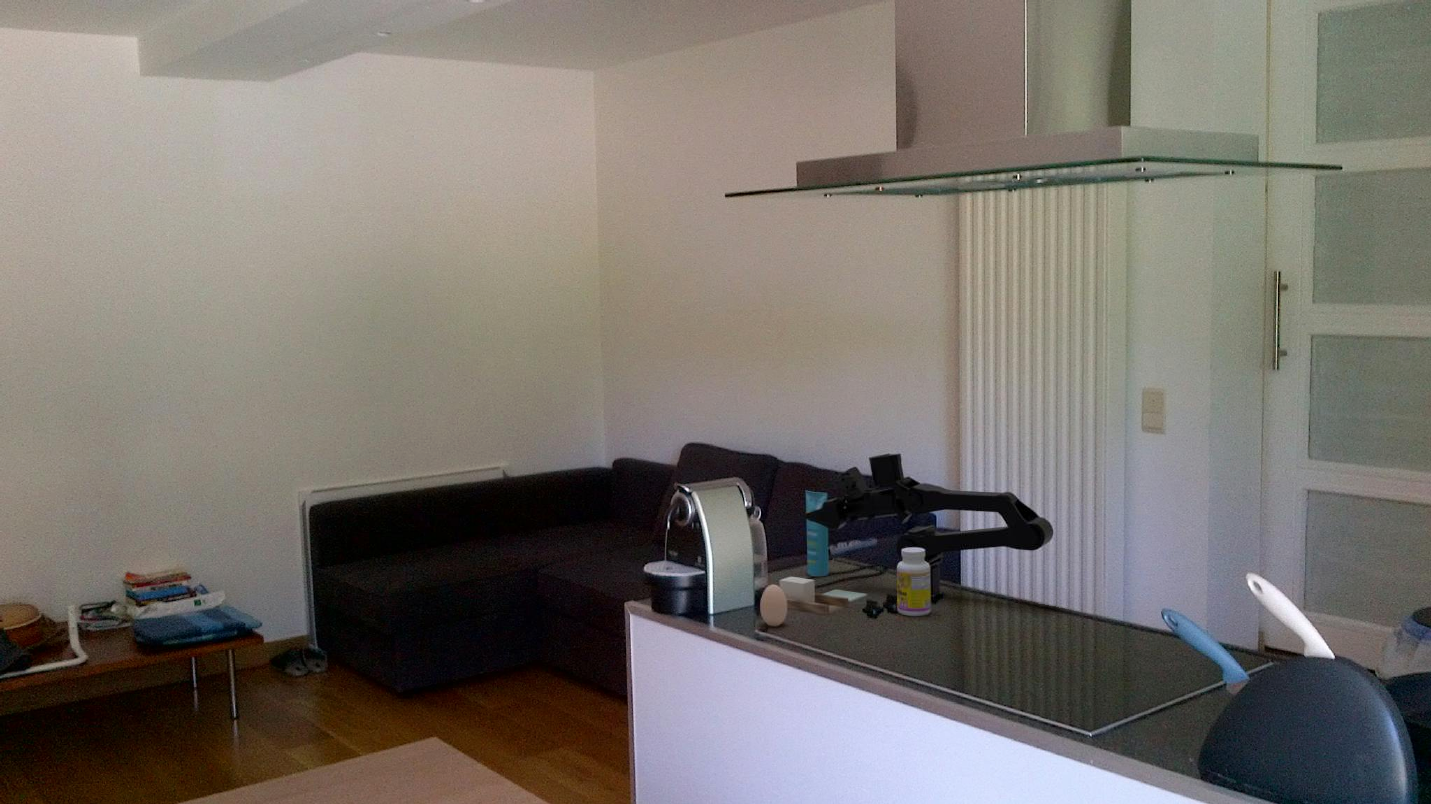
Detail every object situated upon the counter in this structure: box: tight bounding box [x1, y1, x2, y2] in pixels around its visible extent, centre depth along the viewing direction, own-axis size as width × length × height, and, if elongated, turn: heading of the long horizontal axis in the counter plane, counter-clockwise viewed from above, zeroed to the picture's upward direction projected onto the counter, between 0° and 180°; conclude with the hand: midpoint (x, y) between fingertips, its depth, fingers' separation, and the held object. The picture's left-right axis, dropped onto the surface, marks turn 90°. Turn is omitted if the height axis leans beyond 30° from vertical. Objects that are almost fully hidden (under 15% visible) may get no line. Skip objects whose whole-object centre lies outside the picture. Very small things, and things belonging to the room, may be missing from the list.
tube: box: [805, 490, 830, 577], centre depth 289 cm, size 7×5×19 cm, turn 43°
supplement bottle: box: [896, 547, 932, 617], centre depth 252 cm, size 7×7×13 cm
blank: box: [778, 576, 816, 603], centre depth 261 cm, size 6×4×5 cm, turn 50°
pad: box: [822, 588, 868, 603], centre depth 266 cm, size 8×8×1 cm
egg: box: [759, 584, 788, 627], centre depth 245 cm, size 5×5×8 cm
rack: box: [786, 592, 850, 616], centre depth 259 cm, size 13×8×2 cm, turn 50°
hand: (814, 512), depth 279 cm, fingers open, 9 cm apart
